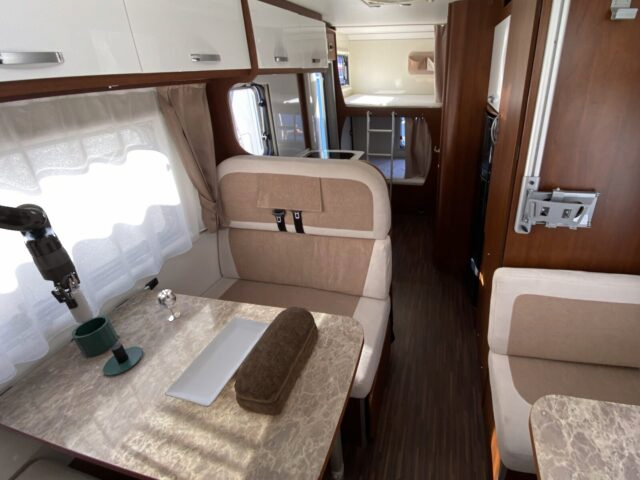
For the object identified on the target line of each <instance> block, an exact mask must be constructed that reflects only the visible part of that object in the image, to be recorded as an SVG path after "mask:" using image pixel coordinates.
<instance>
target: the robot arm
mask: <svg viewBox="0 0 640 480" xmlns="http://www.w3.org/2000/svg"><path fill="white" fill-rule="evenodd" d="M0 229H1V230H6V231H14V232H19V233H20V234H21V236H22V238H23V242H24V245H25V247H26V249H27V251H28V252H29V254H30V256H31V258H32V261H33V264H34V266H35V267H36V268H37V270H38V272H39V274H40V275H41V277H42V279H43V280H44V281H49V282H52V283H53V287H54V289H52V290H50V294H51V295H52V297H54V299H55V300H57V302H58V303H59V304H64V303H65V305H66V304H67V305H66V307H67V306H68V307H67V309H68V308H69V309H74V308H77V307H78V303H77V302H76V300H75V298H74V296H73V293H72V292H73V288H80V287H81V286H80V284H81V280H80V277H79V275H78V271H77V269H76V265H75V263H74V262H73V260H72V258H71V257H70V254H69V253H68V251H67V250H66V248H65V247H64V245H63V244H62V242H61V240H60V239H59V237H58V235H57V234H56V232H55V231H54V229H53V226H52V223H51V221H50V218H49V217H48V214H47V212H46V210H45V209H44V208H43V207H41V206H40V205H38V204H34V203H23V204H19V205H17V206H15V207H14V206H9V205H8V206H7V205H2V204H0ZM80 289H81V288H80ZM67 293H68V294H69V295H68V294H67ZM69 309H68V310H69Z"/></svg>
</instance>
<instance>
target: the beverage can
mask: <svg viewBox="0 0 640 480" xmlns="http://www.w3.org/2000/svg"><path fill="white" fill-rule="evenodd" d="M72 293H73V296H74V298H75V300H76V302H77V303H78V307H77V308H74V309H69V308H68V306H67V304H66V303H65V305H66V307H67V309H68V310H69V312H70V314H71V316H72V318H73V319H74V321H75V322H76V323H77V324H82V323H83V322H86V321H88V320H90V319H91V318H94V317H95V312H94V310H93V308H92V307H91V305H90V303H89V301H88V299H87V297H86V295H85V294H84V292H83V290H82V289H81V288H73V292H72ZM67 294H68V293H67ZM68 295H69V294H68Z"/></svg>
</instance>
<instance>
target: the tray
mask: <svg viewBox="0 0 640 480" xmlns="http://www.w3.org/2000/svg"><path fill="white" fill-rule="evenodd" d="M270 324H271V322H270V323H269V322H265V321H260V320H256V319H250V318H245V317H240V316H234V317H233V318H231V319H230V321H228V322H227V323H226V325H224V326H223V328H222V329H220V331H219V332H218V333H217V334H216V335H215V336H214V338H212V340H210V342H208V343H207V344H206V346H205V347H204V348H203V349H202V351H201V352H200V353H199V354H198V355H197V356H196V357H195V358H194V359H193V360H192V362H191V363H190V364H189V365H188V366H187V367H186V368H185V369H184V370H183V371H182V372H181V374H180V375H178V377H177V378H176V379H175V380H174V381H173V383H172V384H171V385H169V387H168V388H167V390H165V391H164V396H166V397H170V398H174V399H178V400H182V401H185V402H188V403H191V404H195V405H198V406H201V407H205V408H209V407H211V406H213V404H214V402H215V401H216V400H217V399H218V397H219V396H220V395H221V394H222V392H223V391H224V389H225V388H226V386H227V385H228V384H229V382H230V381H231V379H232V378H233V377H234V375H235V374H236V373H237V371H238V370H240V368H241V367H242V365H243V363H244V362H245V360H246V359H247V357H248V355H249V354H250V353H251V351H252V350H253V348H254V346H255V345H256V344H257V342H258V341H259V340H260V338H261V337H262V335H263V334H264V332H265V331H266V329H267V328H268V326H269V325H270Z"/></svg>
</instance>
